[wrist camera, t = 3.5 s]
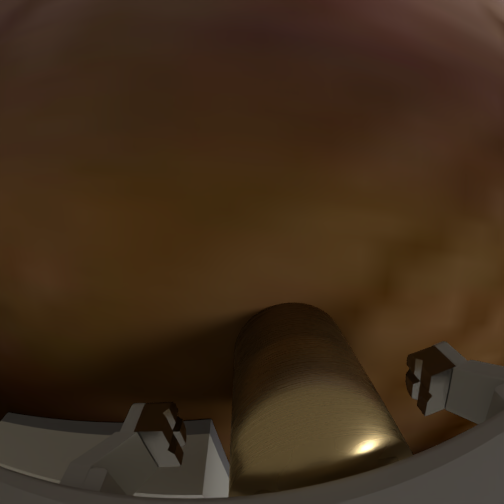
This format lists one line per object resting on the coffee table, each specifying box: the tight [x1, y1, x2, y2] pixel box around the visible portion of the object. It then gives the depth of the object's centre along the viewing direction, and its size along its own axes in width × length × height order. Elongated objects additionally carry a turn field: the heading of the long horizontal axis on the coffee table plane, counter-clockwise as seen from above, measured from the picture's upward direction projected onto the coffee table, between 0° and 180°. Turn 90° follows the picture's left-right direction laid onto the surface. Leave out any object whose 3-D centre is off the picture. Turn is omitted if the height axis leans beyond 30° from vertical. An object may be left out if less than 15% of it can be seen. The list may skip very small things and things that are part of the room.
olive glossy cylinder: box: [228, 303, 413, 497], centre depth 9 cm, size 4×4×7 cm
